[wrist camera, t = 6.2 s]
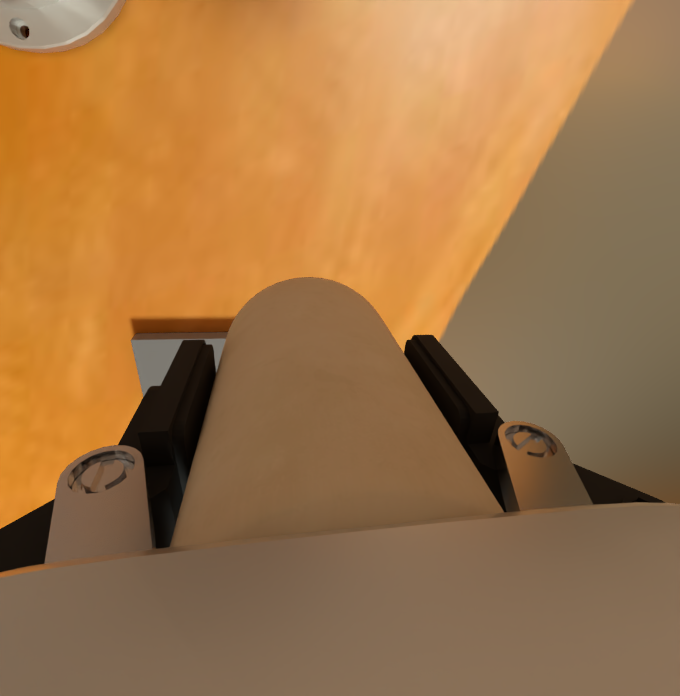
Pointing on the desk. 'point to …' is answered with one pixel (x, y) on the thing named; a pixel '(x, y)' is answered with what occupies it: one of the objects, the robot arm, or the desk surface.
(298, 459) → the candle
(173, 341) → the slate coaster
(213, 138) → the desk surface
